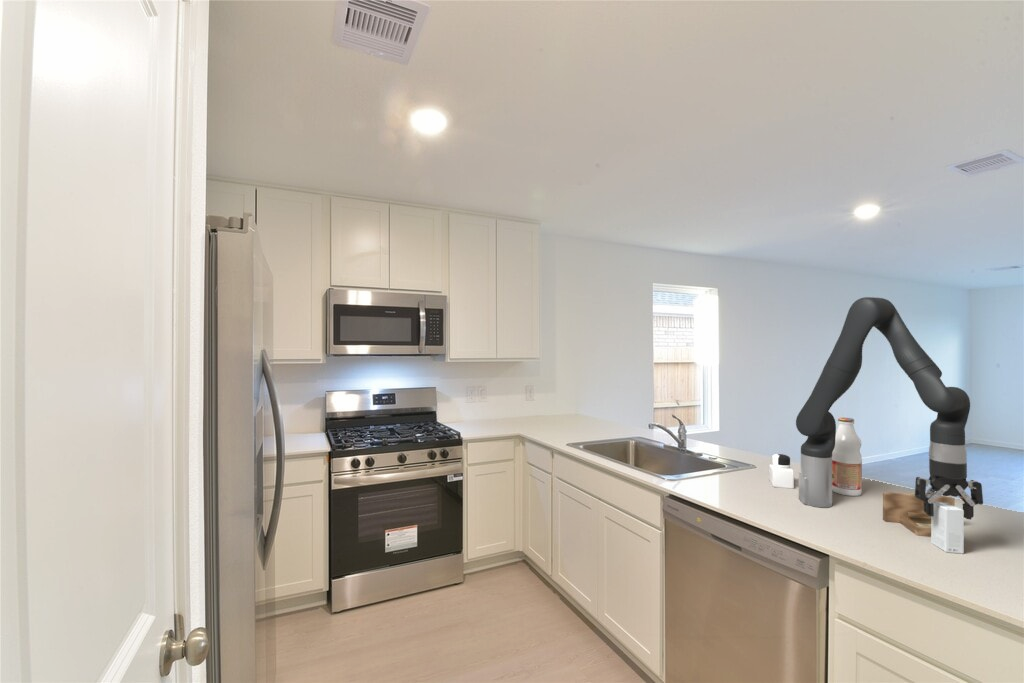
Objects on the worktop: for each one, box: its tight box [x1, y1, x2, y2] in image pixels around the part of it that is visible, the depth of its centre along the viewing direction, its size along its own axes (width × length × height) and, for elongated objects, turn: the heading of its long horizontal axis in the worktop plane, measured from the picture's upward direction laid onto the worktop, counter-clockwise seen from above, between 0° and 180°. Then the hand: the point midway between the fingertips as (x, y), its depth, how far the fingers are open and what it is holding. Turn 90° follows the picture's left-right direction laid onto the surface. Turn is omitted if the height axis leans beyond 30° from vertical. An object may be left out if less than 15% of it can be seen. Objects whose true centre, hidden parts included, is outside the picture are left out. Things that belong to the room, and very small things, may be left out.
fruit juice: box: [832, 416, 863, 497], centre depth 169 cm, size 9×9×28 cm
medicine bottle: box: [768, 453, 795, 490], centre depth 177 cm, size 7×7×12 cm
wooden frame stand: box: [882, 491, 956, 538], centre depth 136 cm, size 18×11×9 cm, turn 75°
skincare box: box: [930, 502, 965, 555], centre depth 125 cm, size 6×4×12 cm
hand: (948, 517), depth 124 cm, fingers open, 8 cm apart
